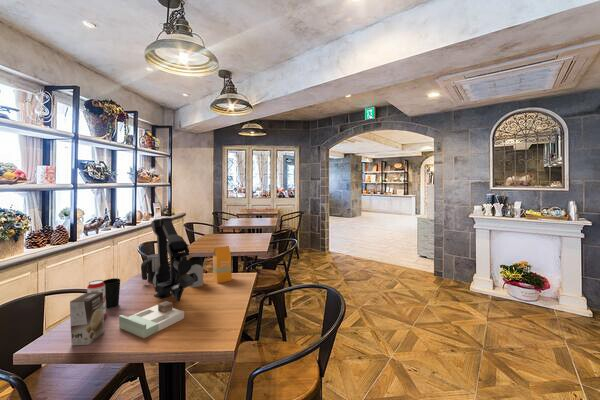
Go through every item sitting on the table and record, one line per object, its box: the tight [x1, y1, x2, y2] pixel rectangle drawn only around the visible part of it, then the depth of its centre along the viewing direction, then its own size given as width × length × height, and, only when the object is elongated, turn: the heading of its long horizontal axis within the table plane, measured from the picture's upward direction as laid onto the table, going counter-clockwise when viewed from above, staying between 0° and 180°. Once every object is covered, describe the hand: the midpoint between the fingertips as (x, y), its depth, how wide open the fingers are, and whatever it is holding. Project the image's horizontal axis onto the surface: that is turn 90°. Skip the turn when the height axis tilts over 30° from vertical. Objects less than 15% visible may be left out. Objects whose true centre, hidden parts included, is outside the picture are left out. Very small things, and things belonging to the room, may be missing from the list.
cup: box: [103, 277, 121, 310], centre depth 135 cm, size 8×8×12 cm
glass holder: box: [187, 256, 205, 288], centre depth 166 cm, size 9×14×15 cm, turn 21°
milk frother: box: [140, 253, 158, 283], centre depth 168 cm, size 14×16×15 cm
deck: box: [118, 304, 185, 339], centre depth 119 cm, size 16×18×5 cm
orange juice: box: [212, 245, 233, 284], centre depth 171 cm, size 8×9×20 cm
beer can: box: [86, 279, 107, 319], centre depth 122 cm, size 6×6×16 cm
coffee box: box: [69, 292, 105, 346], centre depth 107 cm, size 9×6×16 cm
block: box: [157, 300, 174, 313], centre depth 124 cm, size 4×4×3 cm
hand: (178, 301), depth 130 cm, fingers closed
